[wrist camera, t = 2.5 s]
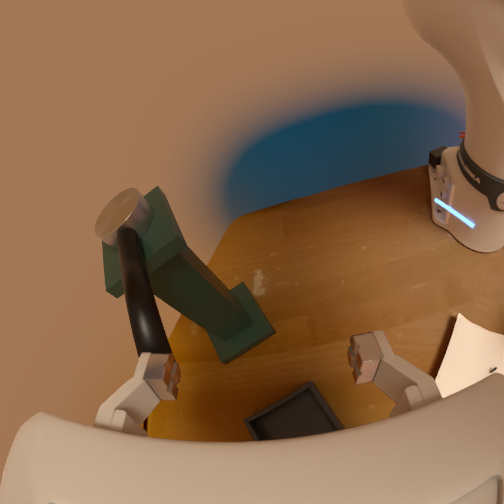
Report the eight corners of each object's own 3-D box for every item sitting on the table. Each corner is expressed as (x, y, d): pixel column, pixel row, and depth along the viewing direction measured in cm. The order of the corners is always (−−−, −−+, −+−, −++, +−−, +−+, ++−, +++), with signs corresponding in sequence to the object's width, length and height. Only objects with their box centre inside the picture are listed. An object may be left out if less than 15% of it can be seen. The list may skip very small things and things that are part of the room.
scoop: (213, 362, 14) (189, 351, 12) (141, 402, 14) (113, 395, 12) (149, 195, 26) (135, 179, 24) (109, 227, 26) (94, 213, 24)
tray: (396, 501, 18) (399, 507, 16) (326, 537, 18) (323, 544, 16) (314, 382, 32) (310, 380, 30) (250, 420, 32) (242, 420, 30)
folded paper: (490, 420, 18) (496, 420, 17) (424, 397, 25) (427, 396, 24) (516, 340, 22) (522, 336, 20) (455, 316, 29) (459, 311, 27)
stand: (276, 332, 38) (184, 235, 20) (225, 364, 38) (102, 298, 20) (246, 285, 45) (160, 180, 27) (202, 315, 45) (98, 231, 27)
